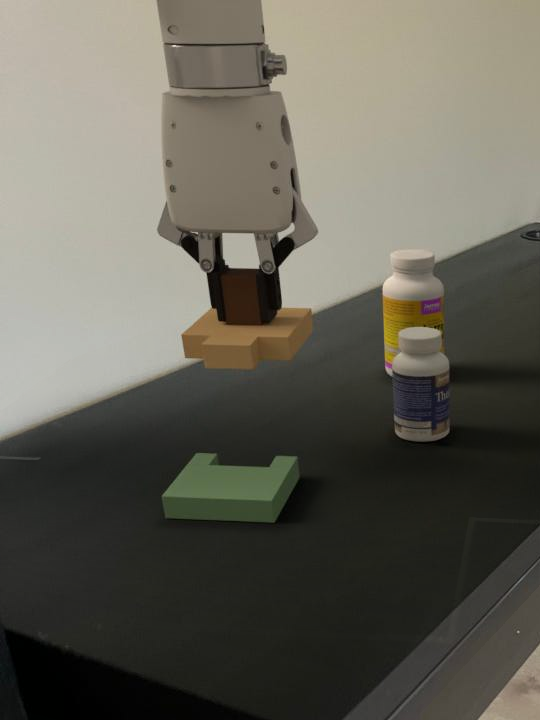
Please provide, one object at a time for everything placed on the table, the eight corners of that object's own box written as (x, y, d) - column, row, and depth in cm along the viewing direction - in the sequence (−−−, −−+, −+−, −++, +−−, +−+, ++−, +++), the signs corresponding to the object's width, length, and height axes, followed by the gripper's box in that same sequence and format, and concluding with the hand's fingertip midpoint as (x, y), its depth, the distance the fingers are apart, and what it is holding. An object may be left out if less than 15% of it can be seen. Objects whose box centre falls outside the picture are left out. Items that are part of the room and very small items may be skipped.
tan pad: (174, 367, 80) (162, 292, 77) (216, 328, 90) (206, 259, 87) (283, 370, 80) (275, 294, 77) (313, 330, 90) (307, 261, 86)
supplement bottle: (424, 386, 107) (421, 263, 100) (374, 376, 110) (368, 255, 103) (455, 370, 112) (455, 251, 105) (407, 360, 115) (403, 244, 108)
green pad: (165, 518, 80) (161, 496, 79) (199, 473, 87) (196, 452, 86) (274, 523, 79) (272, 500, 78) (299, 477, 87) (297, 456, 86)
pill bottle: (446, 444, 94) (445, 342, 88) (390, 442, 94) (386, 340, 89) (452, 424, 98) (452, 325, 93) (399, 422, 98) (395, 323, 93)
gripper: (334, 69, 77) (350, 308, 88) (130, 68, 78) (169, 304, 88) (314, 76, 71) (334, 332, 81) (93, 74, 72) (139, 328, 82)
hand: (248, 315), depth 85 cm, fingers closed on tan pad, 3 cm apart
